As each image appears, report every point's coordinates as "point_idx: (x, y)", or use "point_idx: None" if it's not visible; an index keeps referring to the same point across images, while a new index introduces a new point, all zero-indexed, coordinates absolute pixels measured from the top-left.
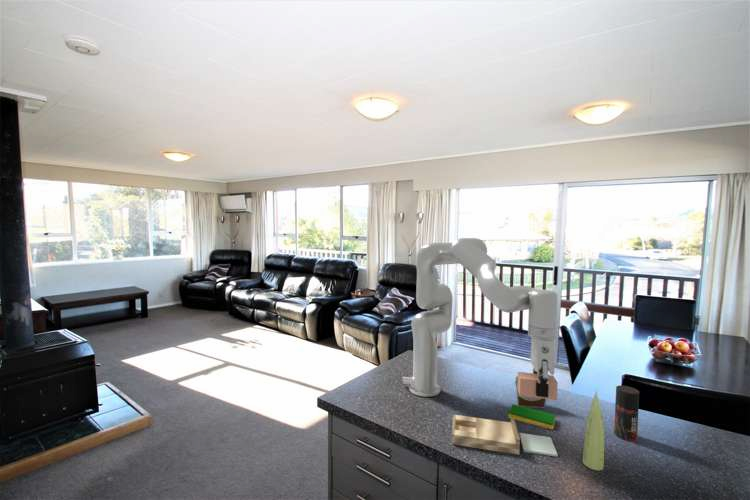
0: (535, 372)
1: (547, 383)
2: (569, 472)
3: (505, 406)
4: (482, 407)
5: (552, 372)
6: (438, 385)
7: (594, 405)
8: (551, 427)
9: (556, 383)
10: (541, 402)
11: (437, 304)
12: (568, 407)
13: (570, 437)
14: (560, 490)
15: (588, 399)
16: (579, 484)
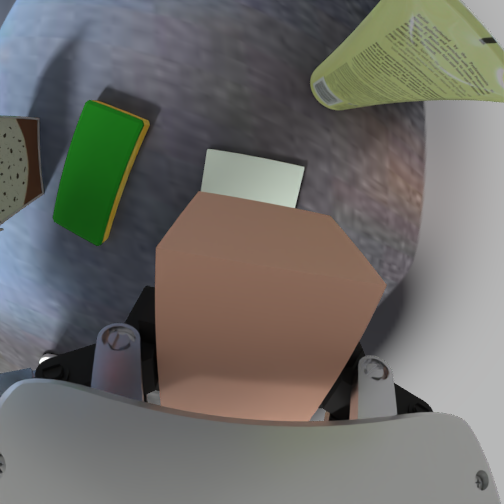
0: (147, 392)
1: (385, 371)
2: (366, 169)
3: (54, 231)
4: (80, 292)
5: (466, 438)
6: (44, 357)
7: (488, 82)
8: (147, 125)
9: (377, 287)
10: (28, 128)
11: None
12: (36, 53)
13: (190, 80)
14: (413, 223)
15: (15, 11)
16: (402, 170)
